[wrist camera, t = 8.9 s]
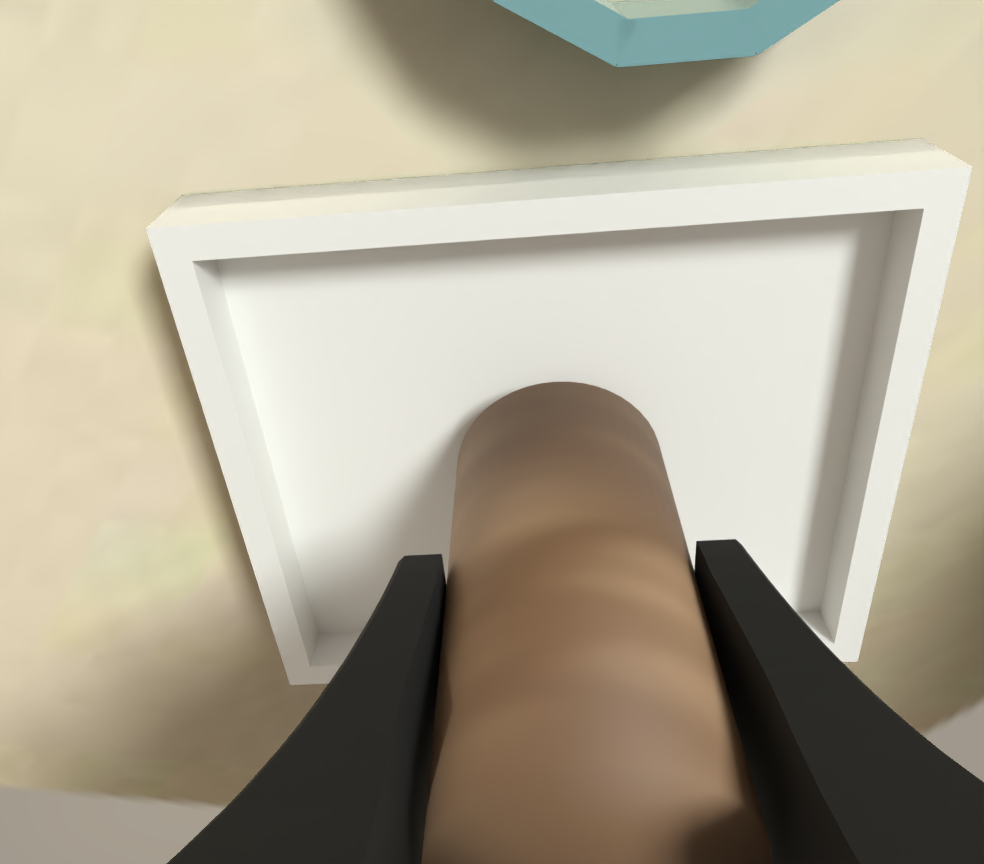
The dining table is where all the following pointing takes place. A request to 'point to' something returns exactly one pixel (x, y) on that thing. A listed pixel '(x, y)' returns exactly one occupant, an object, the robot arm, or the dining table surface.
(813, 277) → the tray
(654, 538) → the dowel
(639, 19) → the teal ring
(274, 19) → the dining table surface
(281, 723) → the dining table surface
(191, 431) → the dining table surface
